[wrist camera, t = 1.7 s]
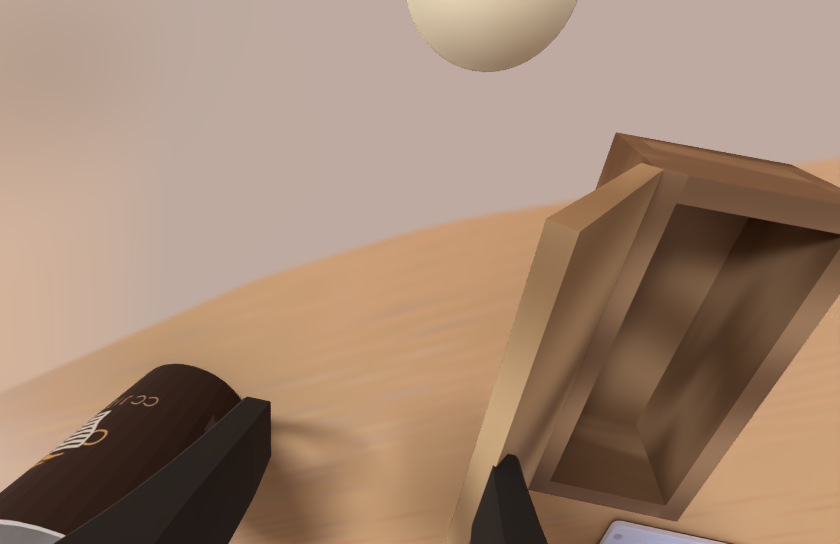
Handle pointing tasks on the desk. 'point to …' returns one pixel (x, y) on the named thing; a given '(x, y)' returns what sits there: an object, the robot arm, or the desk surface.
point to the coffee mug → (113, 453)
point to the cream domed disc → (489, 29)
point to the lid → (554, 329)
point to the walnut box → (693, 325)
